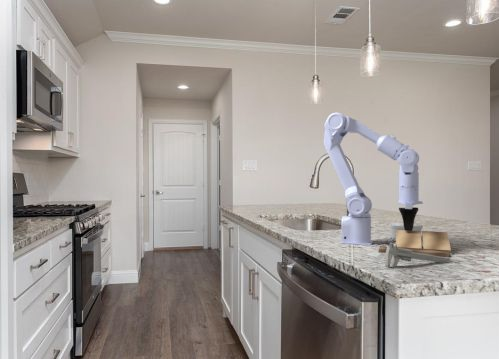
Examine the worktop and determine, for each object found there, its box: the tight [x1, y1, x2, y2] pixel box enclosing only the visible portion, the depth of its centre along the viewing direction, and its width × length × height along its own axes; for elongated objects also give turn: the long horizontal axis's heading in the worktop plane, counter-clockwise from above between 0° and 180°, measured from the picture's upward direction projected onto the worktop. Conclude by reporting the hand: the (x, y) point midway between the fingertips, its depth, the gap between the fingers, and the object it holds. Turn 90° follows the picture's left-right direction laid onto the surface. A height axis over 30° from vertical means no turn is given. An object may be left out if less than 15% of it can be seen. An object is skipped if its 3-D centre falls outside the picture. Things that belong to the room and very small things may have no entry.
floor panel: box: [378, 245, 450, 258], centre depth 109 cm, size 18×4×1 cm, turn 68°
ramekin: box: [388, 222, 423, 240], centre depth 136 cm, size 11×11×5 cm
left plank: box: [395, 230, 423, 249], centre depth 117 cm, size 7×11×1 cm, turn 158°
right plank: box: [421, 230, 452, 255], centre depth 114 cm, size 7×11×1 cm, turn 158°
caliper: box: [384, 242, 454, 269], centre depth 95 cm, size 20×1×6 cm, turn 109°
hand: (408, 230), depth 120 cm, fingers closed
